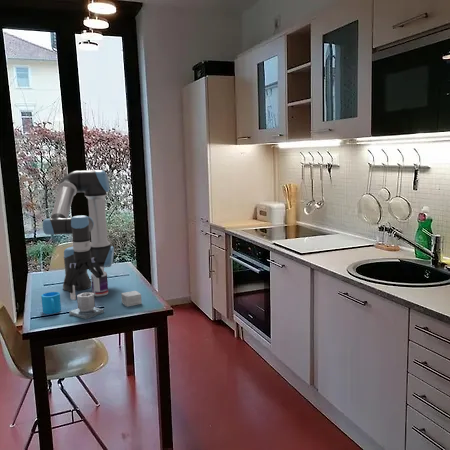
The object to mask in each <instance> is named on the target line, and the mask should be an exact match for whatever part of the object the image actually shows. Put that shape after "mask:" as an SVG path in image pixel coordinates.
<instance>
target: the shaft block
mask: <svg viewBox="0 0 450 450" xmlns="http://www.w3.org/2000/svg"><path fill="white" fill-rule="evenodd" d="M83 296H89V295H88V294H83ZM68 312H69V313H68V314H69V315H70V316H74V317H78V318H81V319H84V320H88V319H91V318H93V317H96V316H99V315H101V313H102V314H104V313H105V309H103V308H100V307H96V306H95V307H94V308H92V309H89V310H80V309H78V308H76V309H73V310H69V311H68Z"/></svg>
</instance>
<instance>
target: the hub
mask: <svg viewBox="0 0 450 450" xmlns="http://www.w3.org/2000/svg"><path fill="white" fill-rule="evenodd" d="M83 294H88V295H89V296H83ZM76 299H77V309H80V310H89V309H92V308H94V307H96V302H95V301H96V300H95V296H94V293H92V292H89V291H88V292H82V293H79V294H77V295H76Z"/></svg>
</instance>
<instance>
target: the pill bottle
mask: <svg viewBox="0 0 450 450" xmlns="http://www.w3.org/2000/svg"><path fill="white" fill-rule="evenodd" d="M100 268H101V270H102V272H103V273H104V274H103V275H102V277H101V278H100V292H97V291H95V284H94V277H95V276H94V275H93V274H92V273H91V274H90V280H91V285H92V286H91V291H92V292H91V293H94V297H104V296H106V295H108V294H109V284H108V274H107V271H105V268H104V267H100ZM94 269H95V268H94ZM95 270H96V269H95Z"/></svg>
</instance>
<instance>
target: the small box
mask: <svg viewBox="0 0 450 450" xmlns="http://www.w3.org/2000/svg"><path fill="white" fill-rule="evenodd" d="M120 296H121V303H122V304H123V305H124V306H125V307H132V306H138V305H142V303H143V301H142V294H141V292H139V291H137V290H132V291H127V292H121V293H120Z"/></svg>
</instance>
